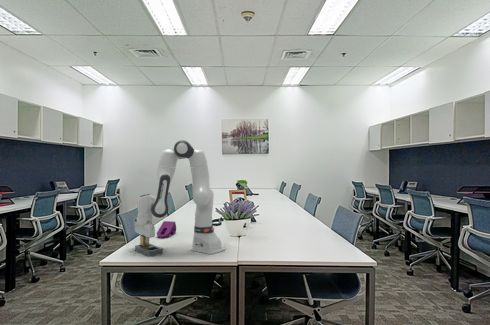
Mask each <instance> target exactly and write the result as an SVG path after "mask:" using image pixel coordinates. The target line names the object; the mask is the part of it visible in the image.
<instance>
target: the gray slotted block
mask: <svg viewBox="0 0 490 325" xmlns="http://www.w3.org/2000/svg"><path fill="white" fill-rule="evenodd" d="M163 250H164V249H163V248H162V247H160V246H157V245H154V244H151V243H150V242H149V246H147V247H141V246H140V244H136V245H134V251H135V252H137V253H140V254H142V255H144V256H147V257H153V256H158V255H163V254H162V253H163Z"/></svg>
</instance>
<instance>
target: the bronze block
mask: <svg viewBox="0 0 490 325" xmlns="http://www.w3.org/2000/svg"><path fill="white" fill-rule="evenodd" d="M139 237H140V239H139V240H140V241H139V245H140V246H141V247H147V246H149V243H150V242H149V243H145V240H146V236H144V235H141V236H140V235H139Z"/></svg>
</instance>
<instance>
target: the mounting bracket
mask: <svg viewBox="0 0 490 325" xmlns="http://www.w3.org/2000/svg"><path fill="white" fill-rule="evenodd" d="M175 234H177V224H176V221H174V220H173V221H170V220H169V221H168V220H164V221H162V224H161V225H160V227H159V228H158V230H157V231H156V236H157V238H158V239H167V238H168V237H170V236H171V235H172V236H174V235H175Z"/></svg>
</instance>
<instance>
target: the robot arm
mask: <svg viewBox="0 0 490 325" xmlns="http://www.w3.org/2000/svg"><path fill="white" fill-rule="evenodd" d="M182 159H183V160H185V159H187V160H188V162H189V167H190V173H191V181H192V182H191V183H192V186H191V187H192V201H193V203H194V204H196V205H195V213H194V227H193V233H194V232H195V234H193V236H192V247H191V248H190V250H191V251H193V252H198V253H203V254H207V255H211V254H217V253H221V252H224V251H225V250H226V248H225V247H223V246H222V241H221V238H220V237H219V236H217V234H216V233H215V227H214V226H213V207H214V191H213V189H212V188H211V187H210V173H209V168H208V161H207V158H206V154H205V152H204V150H202V149H194V148H193V146H192V145H191V144H190V143H189V141H187V140H184V139H181V140H178V141H177V142H176V143H175V144H174V146H173V148H172V149H169V148H167V149H164V150H162V151H161V154H160V156H159V160H158V164H157V169H156V170H157V175H156V176H157V180H158V187H157V193H156V196H154V195H152V194H151V193H145V194H142V195H140V196H139V197H138V199H137V217H135V218H133V221H134V231H135V232H134V233H136V234H138V235H139V237H140V236H141V235H144V236H146V240H145V243H150V238H151V239H152V238H155V237H156V227H155V225H154V224H153V216H154V217H155V218H158V219H160V218H164V217H165V216H167V214H168V212H169V204H168V196H169V190H170V185H171V182H172V181H173V179H174V175H175V172H176V169H177V168H176V167H177V163H178V160H182Z"/></svg>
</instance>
